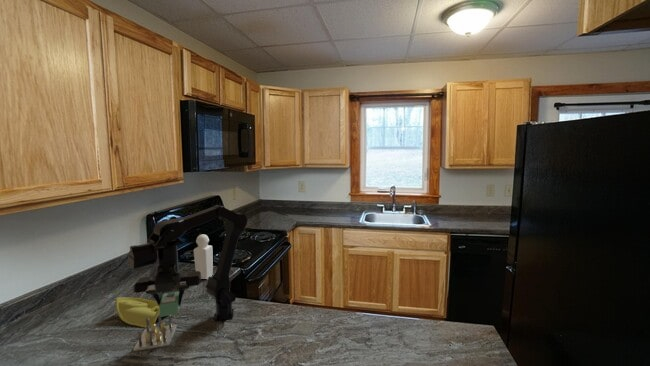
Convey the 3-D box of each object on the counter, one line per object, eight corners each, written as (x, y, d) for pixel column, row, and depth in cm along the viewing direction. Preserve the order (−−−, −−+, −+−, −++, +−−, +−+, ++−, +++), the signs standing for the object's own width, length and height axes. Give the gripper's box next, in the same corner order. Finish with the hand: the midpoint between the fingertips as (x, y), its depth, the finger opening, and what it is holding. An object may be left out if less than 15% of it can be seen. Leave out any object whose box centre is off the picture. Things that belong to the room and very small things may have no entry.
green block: (164, 305, 99) (163, 290, 98) (180, 302, 100) (180, 288, 100) (160, 316, 91) (159, 301, 91) (177, 313, 93) (177, 298, 92)
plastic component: (176, 305, 114) (158, 306, 105) (170, 325, 112) (151, 328, 103) (134, 297, 119) (113, 297, 109) (127, 316, 116) (105, 318, 107)
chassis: (145, 331, 101) (143, 316, 101) (176, 326, 104) (175, 312, 103) (133, 351, 91) (131, 335, 90) (168, 345, 93) (167, 329, 93)
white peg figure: (207, 280, 142) (204, 236, 140) (195, 279, 143) (192, 236, 141) (214, 275, 148) (212, 232, 146) (202, 274, 149) (200, 232, 147)
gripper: (125, 273, 84) (129, 325, 85) (196, 265, 89) (198, 314, 91) (137, 260, 94) (141, 306, 96) (200, 254, 100) (202, 298, 101)
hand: (170, 306), depth 95 cm, fingers closed on green block, 5 cm apart
